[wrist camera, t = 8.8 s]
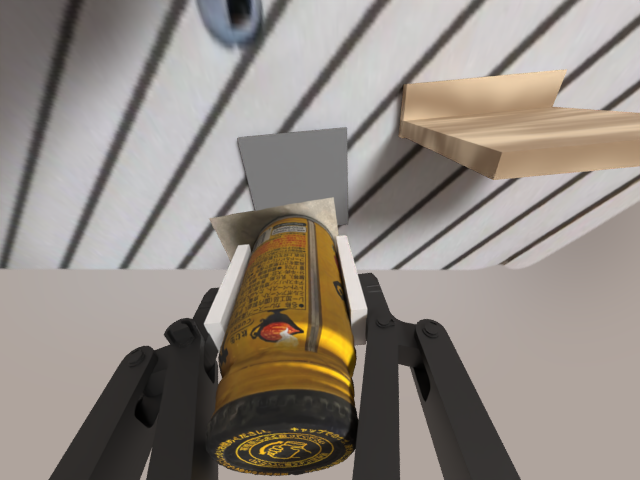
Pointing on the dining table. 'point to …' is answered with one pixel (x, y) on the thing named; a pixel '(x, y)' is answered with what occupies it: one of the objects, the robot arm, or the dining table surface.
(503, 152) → the screen
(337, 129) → the mat
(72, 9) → the dining table surface
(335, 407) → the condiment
